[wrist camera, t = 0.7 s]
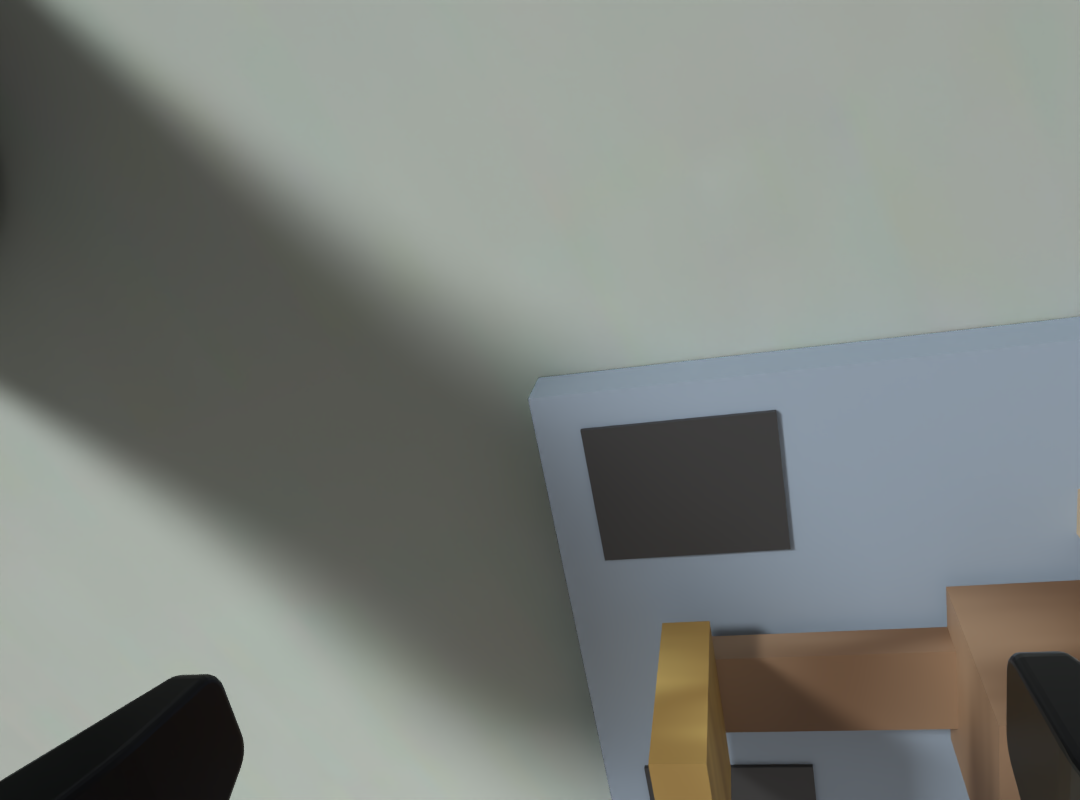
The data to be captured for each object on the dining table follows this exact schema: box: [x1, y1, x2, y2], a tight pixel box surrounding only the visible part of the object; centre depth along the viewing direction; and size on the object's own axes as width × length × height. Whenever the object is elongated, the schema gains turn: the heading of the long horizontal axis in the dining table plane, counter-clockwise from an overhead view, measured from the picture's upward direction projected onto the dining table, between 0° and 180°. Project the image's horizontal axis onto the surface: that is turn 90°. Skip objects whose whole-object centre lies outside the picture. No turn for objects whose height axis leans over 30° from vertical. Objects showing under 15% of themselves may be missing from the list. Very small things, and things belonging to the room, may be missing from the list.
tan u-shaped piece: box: [648, 580, 1080, 800], centre depth 17 cm, size 10×4×5 cm, turn 99°
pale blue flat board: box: [528, 317, 1080, 800], centre depth 20 cm, size 20×14×1 cm
